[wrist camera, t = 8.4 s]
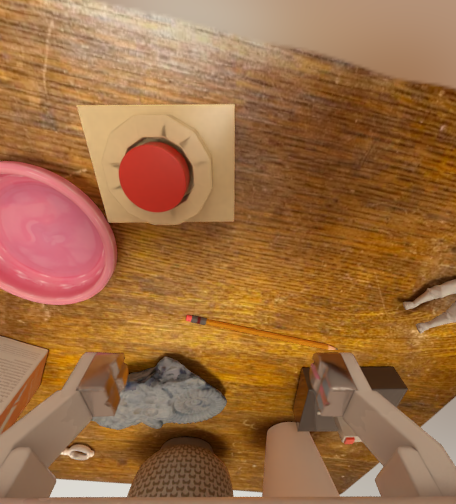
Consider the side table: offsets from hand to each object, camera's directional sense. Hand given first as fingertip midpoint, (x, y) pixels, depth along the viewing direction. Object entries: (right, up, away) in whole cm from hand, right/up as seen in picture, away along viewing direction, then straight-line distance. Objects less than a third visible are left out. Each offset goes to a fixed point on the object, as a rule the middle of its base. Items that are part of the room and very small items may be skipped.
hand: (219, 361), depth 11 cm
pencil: (+5, -5, +19) cm, 20 cm away
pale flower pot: (+10, -25, +30) cm, 40 cm away
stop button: (-4, +10, +5) cm, 12 cm away
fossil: (-9, -13, +23) cm, 28 cm away
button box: (-4, +12, +9) cm, 15 cm away
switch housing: (+16, -15, +24) cm, 32 cm away
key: (-29, -29, +32) cm, 52 cm away
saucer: (-15, +7, +12) cm, 20 cm away
